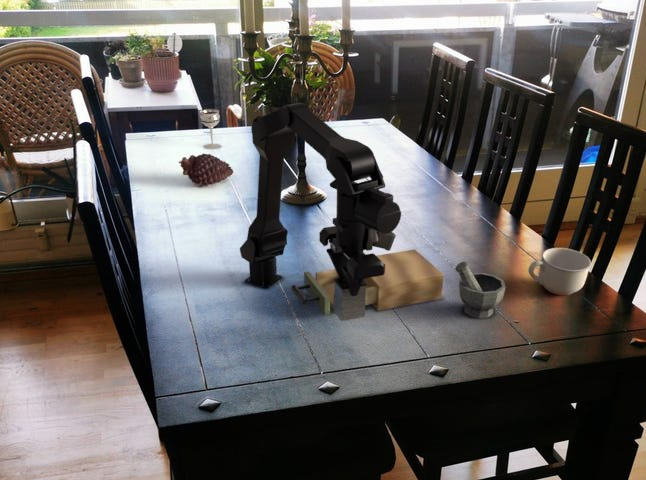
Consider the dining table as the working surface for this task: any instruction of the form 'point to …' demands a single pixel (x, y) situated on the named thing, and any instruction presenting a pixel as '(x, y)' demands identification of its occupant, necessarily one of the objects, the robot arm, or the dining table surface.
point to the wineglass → (210, 122)
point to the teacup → (561, 270)
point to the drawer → (328, 290)
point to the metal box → (348, 300)
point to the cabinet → (407, 280)
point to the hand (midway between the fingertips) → (349, 290)
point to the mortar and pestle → (479, 291)
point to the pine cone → (205, 169)
